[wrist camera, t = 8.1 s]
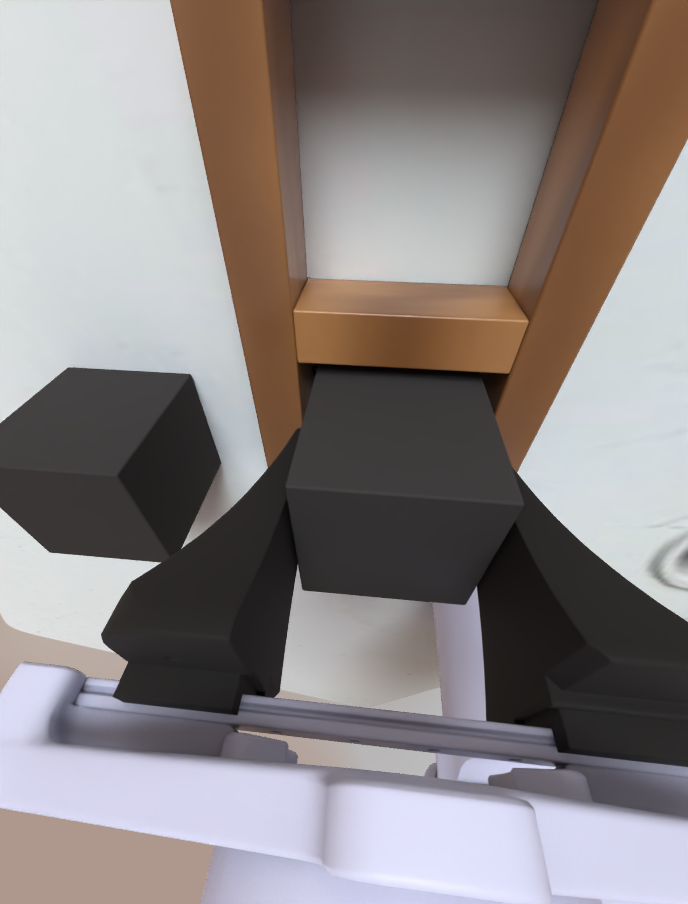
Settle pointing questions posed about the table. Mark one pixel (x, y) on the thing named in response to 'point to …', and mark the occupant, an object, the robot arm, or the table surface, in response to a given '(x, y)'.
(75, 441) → the black block
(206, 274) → the table surface
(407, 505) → the dark grey block
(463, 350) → the wooden frame
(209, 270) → the table surface
